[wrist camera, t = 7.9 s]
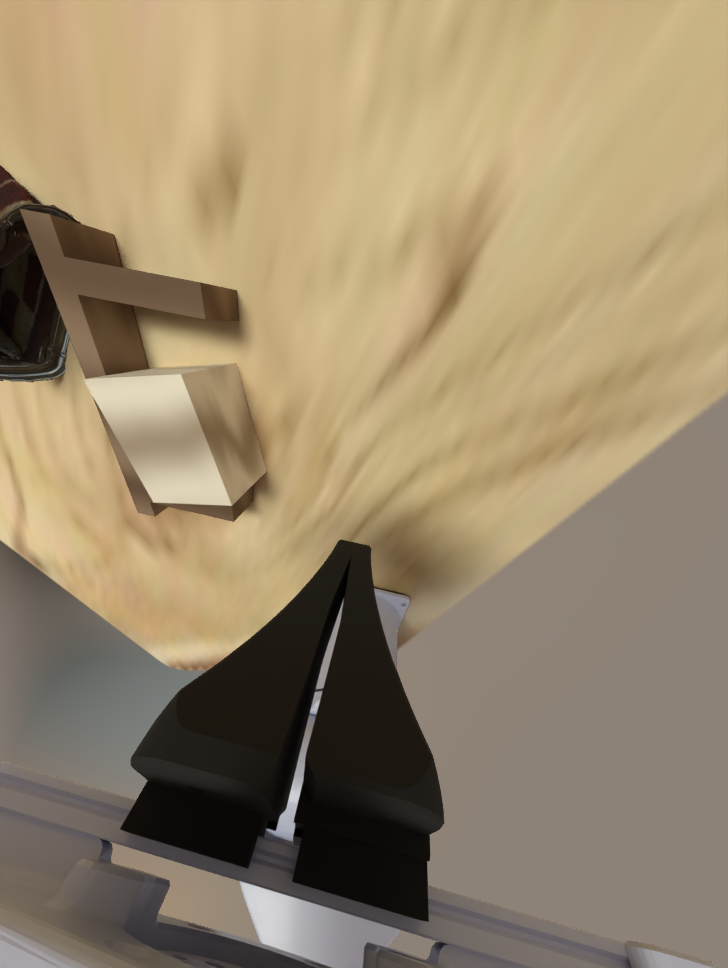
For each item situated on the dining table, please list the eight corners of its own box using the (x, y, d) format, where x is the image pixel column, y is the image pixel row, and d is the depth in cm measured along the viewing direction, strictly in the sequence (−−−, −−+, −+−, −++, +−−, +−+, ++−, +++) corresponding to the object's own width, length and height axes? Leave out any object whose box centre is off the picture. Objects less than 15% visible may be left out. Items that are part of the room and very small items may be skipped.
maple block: (267, 470, 21) (231, 505, 17) (202, 469, 22) (153, 502, 18) (237, 363, 17) (180, 374, 13) (159, 367, 18) (83, 379, 14)
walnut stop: (254, 513, 24) (235, 535, 21) (166, 493, 24) (137, 512, 21) (233, 256, 14) (194, 240, 12) (88, 229, 14) (19, 208, 12)
